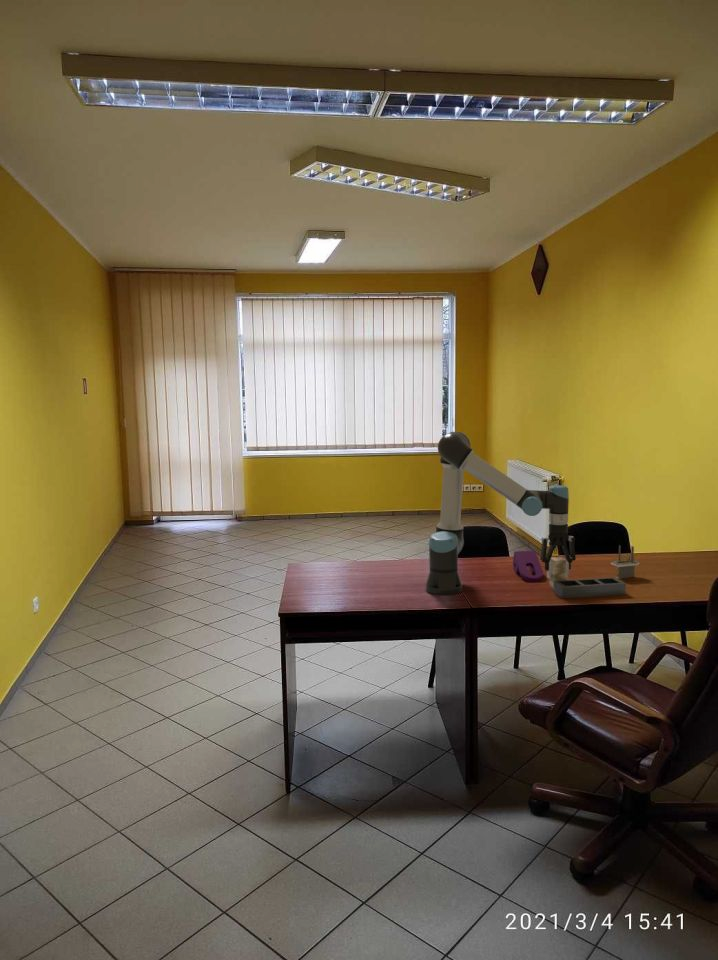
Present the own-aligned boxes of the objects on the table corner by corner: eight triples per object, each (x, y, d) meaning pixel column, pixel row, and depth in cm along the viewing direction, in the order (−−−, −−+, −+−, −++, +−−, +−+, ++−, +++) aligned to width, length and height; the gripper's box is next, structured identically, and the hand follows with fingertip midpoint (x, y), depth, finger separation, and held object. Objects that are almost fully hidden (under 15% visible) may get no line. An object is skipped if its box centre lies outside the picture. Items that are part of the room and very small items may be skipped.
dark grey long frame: (562, 598, 260) (562, 587, 259) (553, 591, 269) (553, 580, 268) (625, 594, 262) (625, 583, 262) (614, 587, 271) (614, 577, 271)
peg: (554, 589, 272) (554, 560, 270) (549, 585, 277) (549, 557, 275) (565, 588, 272) (566, 560, 271) (560, 584, 277) (561, 557, 276)
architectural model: (584, 575, 291) (585, 544, 289) (629, 568, 300) (630, 538, 298) (618, 588, 272) (619, 555, 270) (665, 580, 280) (666, 548, 278)
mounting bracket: (542, 592, 287) (532, 565, 302) (545, 577, 282) (535, 550, 297) (520, 593, 287) (512, 565, 302) (523, 578, 282) (514, 551, 297)
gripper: (538, 526, 266) (537, 581, 269) (585, 523, 268) (584, 578, 271) (531, 522, 274) (531, 576, 277) (577, 520, 275) (576, 573, 279)
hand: (557, 577), depth 274 cm, fingers open, 7 cm apart
